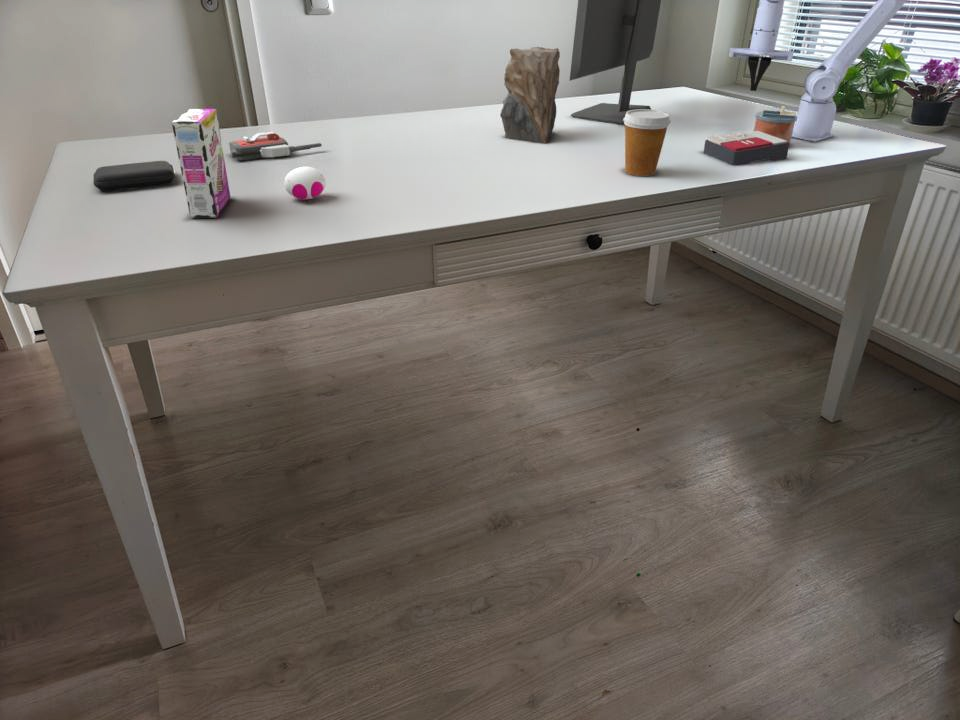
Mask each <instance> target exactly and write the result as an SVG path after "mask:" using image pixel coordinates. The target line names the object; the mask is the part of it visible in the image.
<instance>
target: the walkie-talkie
mask: <svg viewBox="0 0 960 720" xmlns="http://www.w3.org/2000/svg"><path fill="white" fill-rule="evenodd" d="M265 136H266V137H265ZM228 145H229V151H230V155H231V157H232V158H233V159H236V160H237V161H242V162H243V161H249V160H255V159H264V158H278V157H285V156H290V155H291V153H295V152H298V151H305V150H311V149H314V148H321V147H322V143H321V142H317V143H309V144H303V145H296V146H293V145H291V146H290V145H289V142H288V141H287V140H286V139H285V138H283V137H281V136H280V135H279V134H278V133H276V132H275V131H266V132H256V133H255V134H254V135H253V136H252V137H251V138H250V137H248V136H243V138H242V139H241V140H234V141H229V142H228Z"/></svg>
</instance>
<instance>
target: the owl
mask: <svg viewBox="0 0 960 720" xmlns="http://www.w3.org/2000/svg"><path fill="white" fill-rule="evenodd" d="M509 55H510V59H509V61H508V63H507V65H506V67H505V73H504V77H503V78H504V79H503V80H504V81H503V82H504V83H503V85H504V86H505V88H506V90H507V92H508V93H507V95H506V97H505V98H504V99H503V101H502V104H503V105H502V108H501V111H500V114H499V115H500V118H501V121H502V127H503V131H504V138H506V139H510V140H511V139H512V140H518V141H525V142H526V141H527V142H532V143H541V144H547V143H548V141H550V138H551V136H552V135H553V130H554V128H555V123H556V117H557V104H556V94H557V91H558V87H559V84H560V73H561V70H560V65H559V60H560V58H561V53H560V50H559V48H558V47H556V48H546V47H542V46H535V47H533V46H532V47H530V48H525V49H522V48H521V49H520V48H510V49H509Z"/></svg>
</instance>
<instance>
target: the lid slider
mask: <svg viewBox="0 0 960 720" xmlns="http://www.w3.org/2000/svg"><path fill="white" fill-rule="evenodd" d="M785 109H786V106H785V105H781V109H780V111H781V113H780V115H791V116H795V115H796V112H794V113H789V112H790V111H785Z"/></svg>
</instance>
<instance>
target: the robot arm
mask: <svg viewBox="0 0 960 720" xmlns="http://www.w3.org/2000/svg"><path fill="white" fill-rule="evenodd" d="M906 2H908V0H877V1H876V2H875V3H874V4H873V5H872V7H871V8H870V9H869V10H868V11H867V12H866V14H865V15H864V16H863V17H862V19H860V21H859V22H858V23H857V25H856V26H855V27H854V28H853V29H852V30H851V32H849V34H848V35H847V36H846V38H844V40H843V41H842V42H841V43H840V45H838V47H837V48H836V49H835V51H833V53H832V54H830V56H828V57H827V58H826V59H824V61H822V63H820V65H819V66H818V67H816V68H814V69H811V70H810V71H809V72H808V73H807V75H806V76H805V78H804V80H803V87H804V90H805V92H804V94H803V95H801V97H800V101H799V106H798V110H797V115H796V116H797V121H795V124H794V128H793V133H792V137H791V138H795V139H800V140H804V141H808V142H815V143H816V142H818V141H819V142H820V141H822V140H825V139H829V138H832V137H833V136H834V133H831V132H832V128H833V125H834V121H835V117H836V113H837V104H836V103H835V101H834V98H833V97H834V96H836V94H837V92H838V89H839V86H840V84H841V83H842V81H843V80H844V79H845V77H846V75H847V72H848V70H849V68H850V67H851V66H852V65H853V63H855V62H856V60H857V59H858V58H859V57H860V56H861V55H862V54H863V52H864V51H865V50H866V48H867V47H868V46H869V45H870V44H871V43H872V42H873V40H874V39H876V37H877V36H878V35H879V33H880V32H881V31H882V30H883V29H884V28H885V27H886V25H887V24H888V23H889V22H890V21H891V20H892V18H894V16H895V15H896V14H897V13H898V12H899V10H900V9H901V8H902V7H903V6H904V5H905V4H906ZM784 5H785V0H759V2H758V7H757V10H756V14H755V20H754V25H753V30H752V35H751V39H750V45H749V47H730V48H729V54H728V58H744V59H745V58H746V59H747V66H748V68H749V75H750V89H749V90H750V91H751V92H757V89H758V86H759V84H760V81H761V80H762V78H763V76H764V74H765V73H766V71H767V70H768V68H769V66H770V65H771V64H772V60H773V61H786V62H793V57H794V53H795V52H794V51H787V50H781V49H780V50H778V49H775V48H776V45H777V40H778V35H779V32H780V27H781V21H782V17H783V12H784ZM758 65H759V66H758Z"/></svg>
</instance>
